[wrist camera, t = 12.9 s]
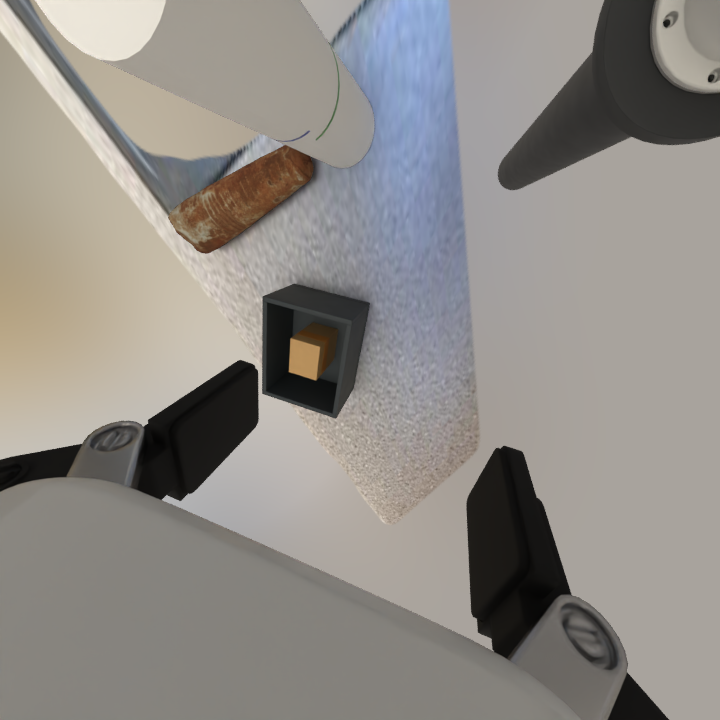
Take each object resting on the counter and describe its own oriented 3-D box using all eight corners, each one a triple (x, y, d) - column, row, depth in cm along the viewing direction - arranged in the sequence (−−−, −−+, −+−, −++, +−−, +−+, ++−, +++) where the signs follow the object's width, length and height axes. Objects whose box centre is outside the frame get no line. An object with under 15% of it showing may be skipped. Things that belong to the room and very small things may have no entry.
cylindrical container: (302, 104, 30) (-58, -179, 9) (364, 69, 28) (63, -449, 6) (324, 178, 33) (84, 98, 11) (382, 153, 30) (212, -12, 9)
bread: (194, 208, 39) (158, 206, 34) (307, 135, 32) (281, 119, 27) (217, 253, 41) (186, 258, 36) (329, 195, 34) (308, 190, 29)
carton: (312, 321, 41) (290, 338, 35) (338, 329, 40) (320, 346, 34) (309, 352, 43) (288, 372, 37) (334, 359, 42) (316, 381, 37)
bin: (294, 283, 40) (262, 296, 33) (369, 302, 38) (352, 320, 31) (289, 368, 47) (262, 393, 40) (353, 388, 45) (336, 418, 38)
